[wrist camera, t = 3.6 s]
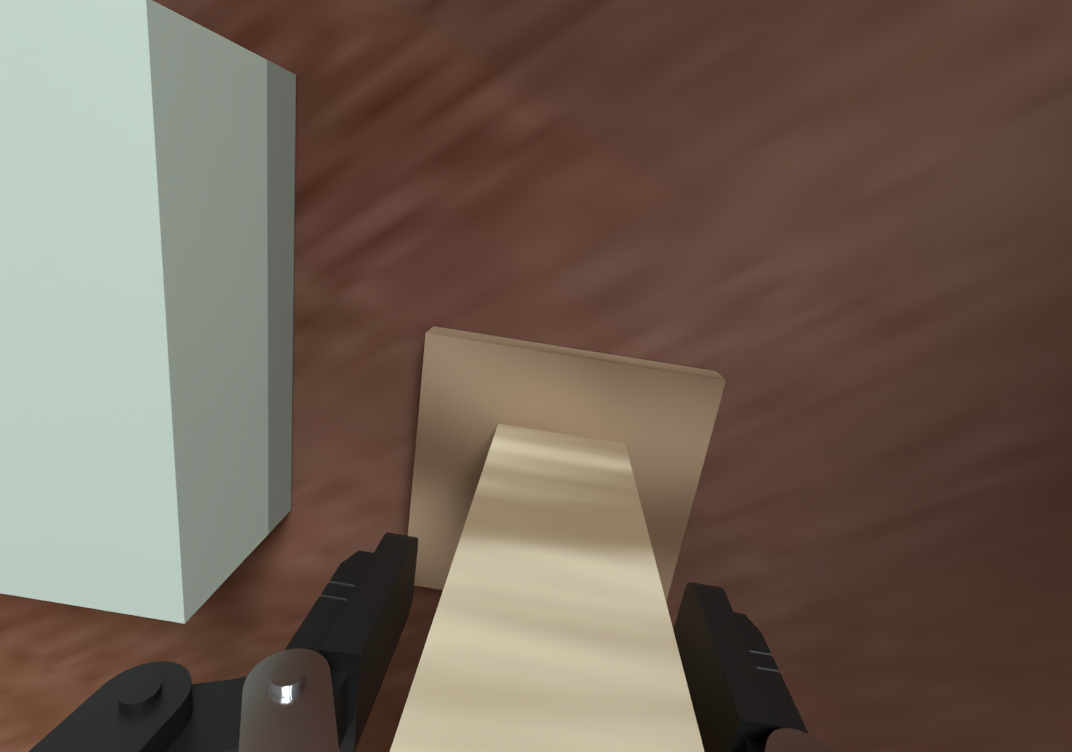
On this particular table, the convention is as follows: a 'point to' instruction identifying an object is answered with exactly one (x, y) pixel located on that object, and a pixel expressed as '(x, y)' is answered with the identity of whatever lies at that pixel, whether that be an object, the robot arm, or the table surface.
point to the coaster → (553, 430)
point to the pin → (551, 615)
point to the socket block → (140, 305)
